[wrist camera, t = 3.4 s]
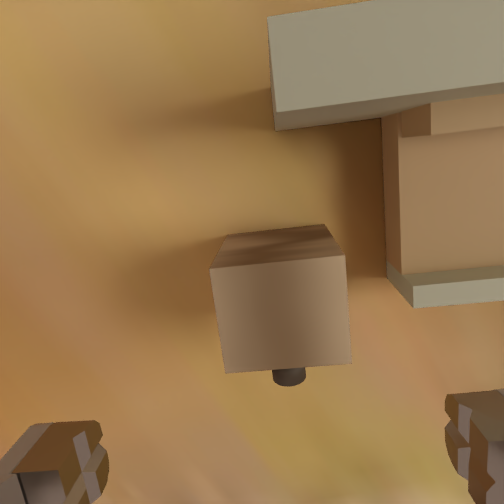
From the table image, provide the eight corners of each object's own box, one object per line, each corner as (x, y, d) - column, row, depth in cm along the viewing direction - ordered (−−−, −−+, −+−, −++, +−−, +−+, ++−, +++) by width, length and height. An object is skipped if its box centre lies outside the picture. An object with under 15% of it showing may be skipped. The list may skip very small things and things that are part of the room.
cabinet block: (324, 224, 20) (345, 255, 14) (331, 321, 21) (353, 386, 15) (227, 234, 20) (208, 268, 14) (241, 329, 22) (228, 395, 16)
